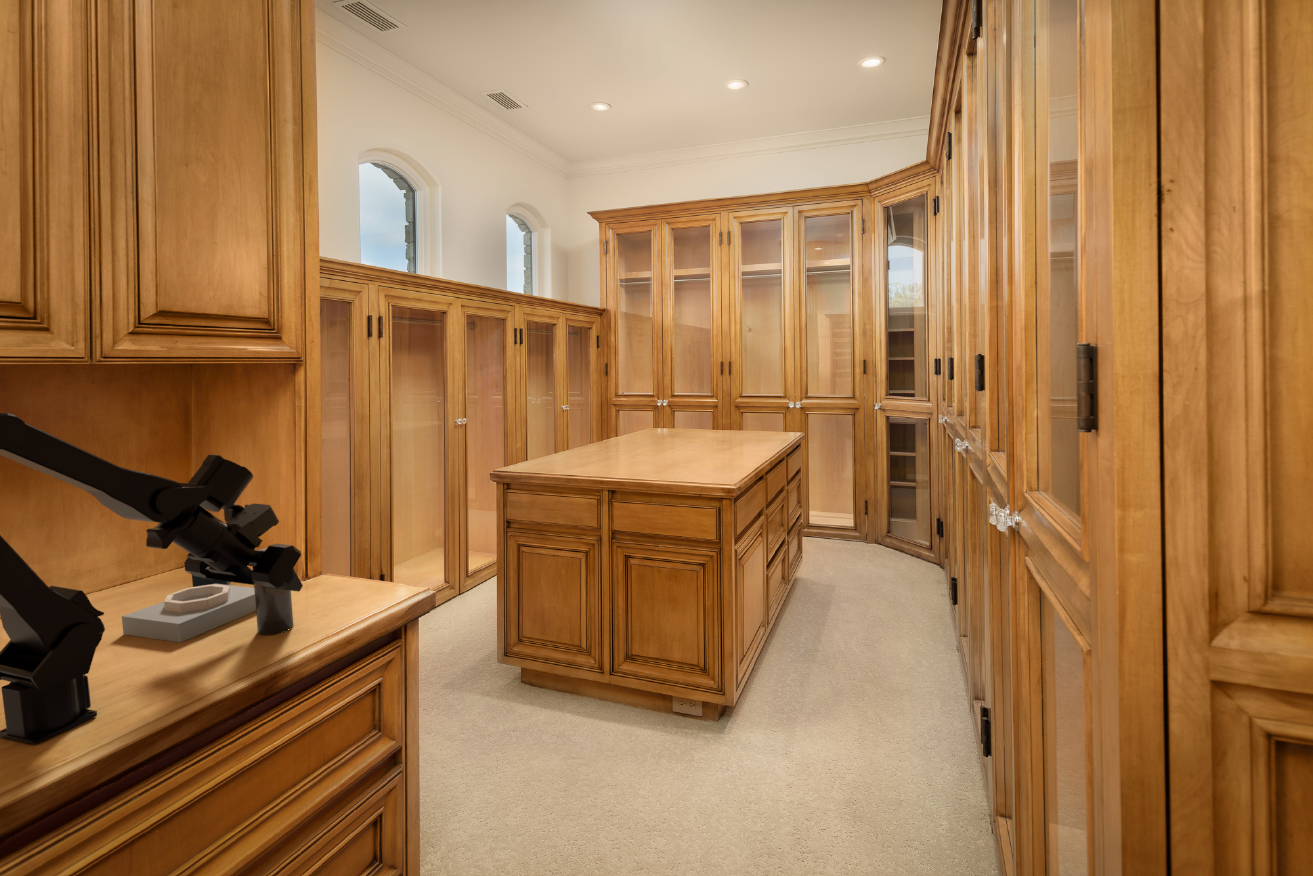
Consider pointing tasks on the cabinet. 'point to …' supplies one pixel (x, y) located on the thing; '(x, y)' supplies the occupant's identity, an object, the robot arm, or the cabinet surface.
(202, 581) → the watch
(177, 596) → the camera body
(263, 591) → the lens
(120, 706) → the cabinet surface
